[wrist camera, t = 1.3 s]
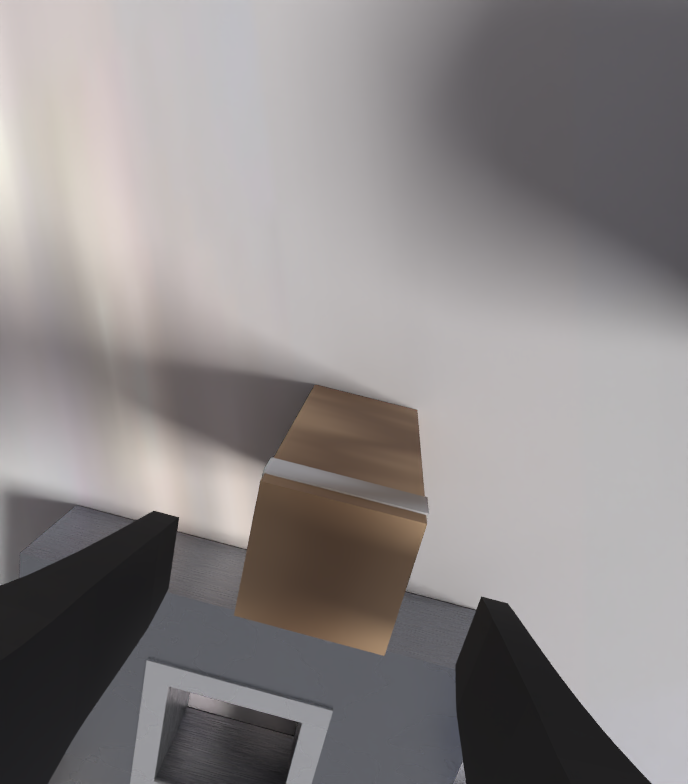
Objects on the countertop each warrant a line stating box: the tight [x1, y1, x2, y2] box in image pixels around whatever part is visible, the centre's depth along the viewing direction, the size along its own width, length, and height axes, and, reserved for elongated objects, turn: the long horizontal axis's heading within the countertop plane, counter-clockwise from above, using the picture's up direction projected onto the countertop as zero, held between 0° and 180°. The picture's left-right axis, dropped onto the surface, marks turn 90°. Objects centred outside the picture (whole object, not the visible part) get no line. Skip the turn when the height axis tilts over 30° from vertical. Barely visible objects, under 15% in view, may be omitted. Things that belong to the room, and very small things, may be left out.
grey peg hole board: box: [19, 505, 476, 784], centre depth 23 cm, size 18×14×4 cm
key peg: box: [234, 385, 429, 656], centre depth 16 cm, size 4×4×8 cm
